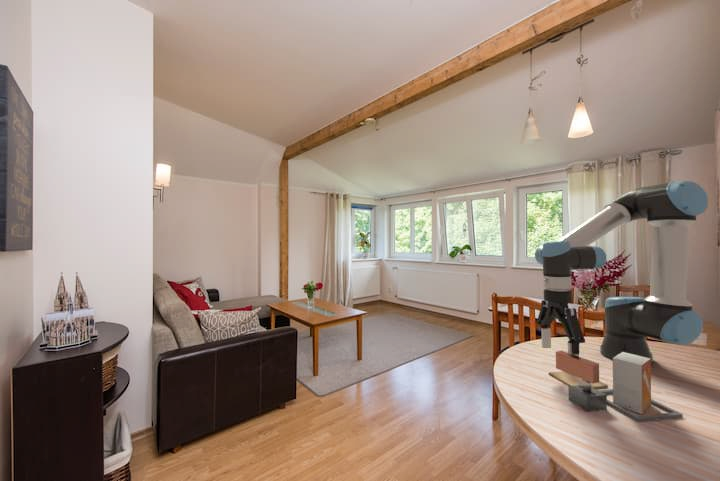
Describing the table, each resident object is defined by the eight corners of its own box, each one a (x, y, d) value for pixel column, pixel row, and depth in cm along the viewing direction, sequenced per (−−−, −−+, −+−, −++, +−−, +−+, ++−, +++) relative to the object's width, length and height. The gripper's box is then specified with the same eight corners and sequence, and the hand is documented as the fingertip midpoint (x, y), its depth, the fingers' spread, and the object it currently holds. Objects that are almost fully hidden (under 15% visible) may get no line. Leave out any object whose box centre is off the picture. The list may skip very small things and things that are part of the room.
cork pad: (577, 371, 104) (577, 370, 104) (607, 387, 93) (607, 385, 93) (548, 374, 102) (548, 372, 102) (575, 390, 91) (575, 388, 91)
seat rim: (627, 390, 91) (627, 387, 91) (682, 417, 77) (682, 414, 77) (588, 393, 89) (588, 391, 89) (638, 422, 75) (638, 418, 75)
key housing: (587, 398, 87) (587, 383, 87) (606, 409, 81) (606, 394, 81) (568, 399, 86) (568, 385, 86) (586, 411, 80) (586, 396, 80)
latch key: (561, 376, 91) (561, 350, 91) (599, 392, 81) (599, 363, 81) (556, 378, 90) (555, 351, 90) (593, 394, 81) (593, 365, 81)
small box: (643, 415, 78) (642, 365, 78) (612, 404, 83) (611, 357, 83) (652, 405, 82) (651, 358, 82) (622, 395, 88) (621, 351, 88)
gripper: (525, 283, 109) (526, 342, 109) (571, 296, 84) (574, 372, 84) (545, 283, 109) (547, 341, 108) (599, 296, 84) (601, 372, 83)
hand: (559, 355), depth 96 cm, fingers open, 13 cm apart
